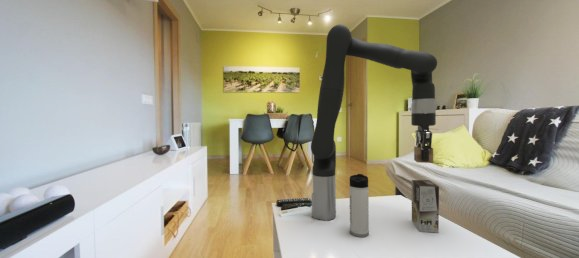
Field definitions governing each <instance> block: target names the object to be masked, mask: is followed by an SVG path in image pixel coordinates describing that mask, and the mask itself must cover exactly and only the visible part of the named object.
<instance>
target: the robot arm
mask: <svg viewBox="0 0 579 258" xmlns="http://www.w3.org/2000/svg"><path fill="white" fill-rule="evenodd" d="M325 47H326V50H325V60H324V61H325V63H324V67H323V68H324V69H323V72H322V76H321V82H320V87H319V88H320V89H319V94H318V103H317V112H316V124H315V129H314V132H313V136H312V139H311V144H310V150H311V153H312V155H313V165H312V193H311V217H312V218H315V219H316V220H319V221H320V220H321V221H330V220H333V219H335V218H336V216H337V199H336V198H337V197H336V194H337V193H336V189H337V188H336V167H337V166H336V165H337V148H336V147H337V145H336V141H335V128H336V124H337V120H338V117H339V114H340V111H341V108H342V103H343V97H344V91H345V90H344V89H345V65H346V64H345V62H346V58H347V56H350V57H355V58H361V59H365V60H369V61H371V62H374V63H377V64H381V65H385V66H387V67H391V68H395V69H398V70H399V69H405V70H409V71H410V77H411V78H410V79H411V84H412V90H411V93H412V96H411V108H410V109H411V110H410V111H411V126H416V127H417V130H415V147H421V160H422V161H429V150H430V149H431V148H432V145H433V144H432V143H433V142H432V140H433V132H432V131H431V130H430V127H432V126H435V125H436V123H437V121H436V117H437V116H436V114H437V113H436V111H437V110H436V107H437V105H436V100H435V99H436V89H435V88H436V87H435V84H434V83H433V72H434V71H435V70H436V68H437V66H438V59H437V58H436V57H435V55H433V54H431V53H429V52H425V51H419V50H418V51H417V50H412V49H411V50H410V49H405V48H402V47H399V46H394V45H392V44H388V43H377V42H370V41H369V42H368V41H365V40H361V39H358V38H356V37H353V36H352V32H351V31H350V29H349V28H348V27H347V26H346V25H344V24H336V25H334V26H332V27H331V29H329V31H328V32H327V35H326V46H325Z"/></svg>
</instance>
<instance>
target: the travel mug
mask: <svg viewBox="0 0 579 258" xmlns="http://www.w3.org/2000/svg"><path fill="white" fill-rule="evenodd" d="M369 200H370V199H369V177H368V176H367V175H364V174H363V173H357V174H353V175H350V176H349V233H350V235H352V236H354V237H358V238H365V237H368V236H369V234H370V233H369V232H370V231H369V227H370V226H369V224H370V223H369V222H370V221H369V220H370V218H369V217H370V215H369V213H370V211H369V207H370V206H369Z"/></svg>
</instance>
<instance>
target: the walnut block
mask: <svg viewBox="0 0 579 258" xmlns="http://www.w3.org/2000/svg"><path fill="white" fill-rule="evenodd" d="M413 148H414V149H413V155H414V156H413V159H414V160H413V161H415V162H416V163H425V164H427V163H429V164H434V148H433V147H431V149H430V150H429V161H422V160H421V147H417V146H414V147H413Z"/></svg>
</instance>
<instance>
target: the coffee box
mask: <svg viewBox="0 0 579 258" xmlns="http://www.w3.org/2000/svg"><path fill="white" fill-rule="evenodd" d="M439 211H440V186H439V185H437V184H436V183H434V182H433V181H431V180H429V179H411V221H412V223H413V224H414V226H415V227H416V229H417V230H418V232H423V233H424V232H426V233H439V231H440V229H439V226H440V225H439V224H440V223H439V222H440V221H439V218H440V216H439V215H440V214H439Z"/></svg>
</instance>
